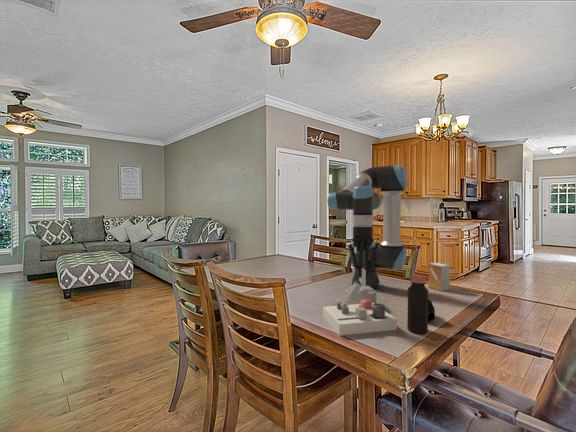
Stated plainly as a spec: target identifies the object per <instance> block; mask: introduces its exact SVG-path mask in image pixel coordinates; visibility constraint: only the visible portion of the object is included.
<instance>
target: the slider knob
mask: <svg viewBox="0 0 576 432" xmlns="http://www.w3.org/2000/svg"><path fill="white" fill-rule="evenodd" d="M356 317H358V318H359V319H363V318H367V310H366V309H365V308H364V307H359V308H356Z"/></svg>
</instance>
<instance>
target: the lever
mask: <svg viewBox="0 0 576 432" xmlns="http://www.w3.org/2000/svg"><path fill="white" fill-rule="evenodd" d="M351 286H352V287H351ZM351 286H350V287H351V289H350V290H349V292H348V293H347V295H346V294H345V297H344V298H343V299H342V301H341V302H342V303H341V304H340V307H341V308H342V307H347V306H348V304H349V303H350V301H351V300H352V298H353V297H354V295H355V293H356V292H357V290H358V289H359V287H360V286H361V282H360V281H358V280H357V281H356V282H354V284H353V285H352V284H351Z"/></svg>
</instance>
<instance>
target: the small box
mask: <svg viewBox="0 0 576 432" xmlns="http://www.w3.org/2000/svg"><path fill="white" fill-rule="evenodd" d="M450 268H451V267H450V265H449V264H446V263H442V262H441V263H440V262H430V263H428V280H427V281H428V284H427V285H428V288H431V289H434V290H437V291H439V292H444V291H449V290H450V275H451V274H450V273H451V272H450Z"/></svg>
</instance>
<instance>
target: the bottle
mask: <svg viewBox="0 0 576 432" xmlns="http://www.w3.org/2000/svg"><path fill="white" fill-rule="evenodd" d="M426 278H427V277H426V275H423V274H420V273H419V274H418V273H414V274H410V283H411V284H410V286H409V287H408V288H407V322H406V323H407V325H406V326H407V331H409V332H410V333H413V334H418V335H424V334H427V333H428V331H429V329H428V326H429V324H428V323H429V321H428V299H429V289H428V288H427V287H426V286H425V285H426V283H427V281H426Z"/></svg>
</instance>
